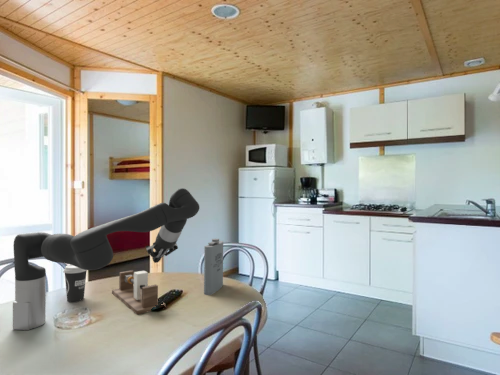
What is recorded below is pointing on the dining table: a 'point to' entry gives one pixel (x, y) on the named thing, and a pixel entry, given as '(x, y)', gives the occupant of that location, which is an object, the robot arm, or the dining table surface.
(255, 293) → the dining table surface
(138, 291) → the white slider block
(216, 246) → the flask
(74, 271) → the coffee cup
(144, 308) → the cord stand
